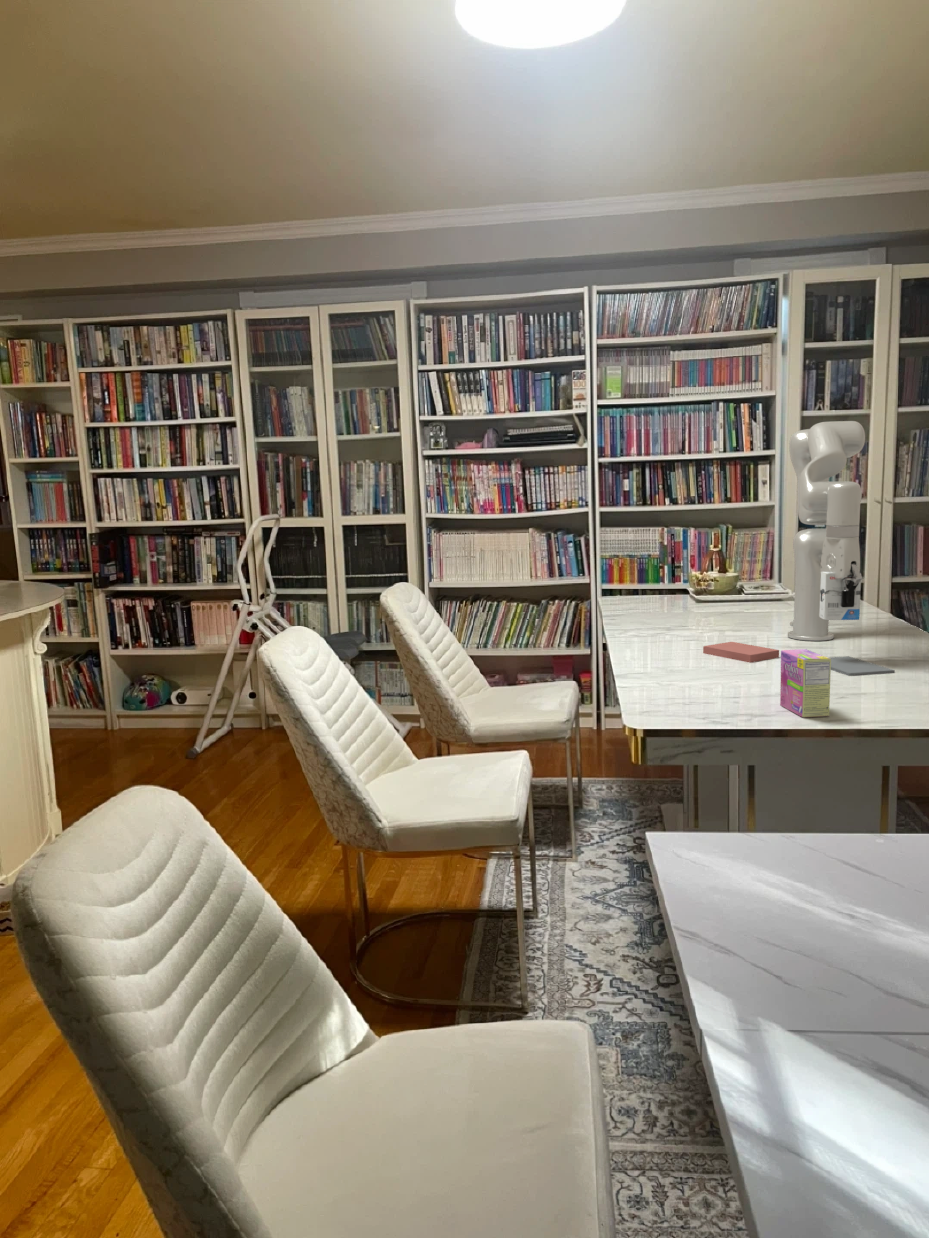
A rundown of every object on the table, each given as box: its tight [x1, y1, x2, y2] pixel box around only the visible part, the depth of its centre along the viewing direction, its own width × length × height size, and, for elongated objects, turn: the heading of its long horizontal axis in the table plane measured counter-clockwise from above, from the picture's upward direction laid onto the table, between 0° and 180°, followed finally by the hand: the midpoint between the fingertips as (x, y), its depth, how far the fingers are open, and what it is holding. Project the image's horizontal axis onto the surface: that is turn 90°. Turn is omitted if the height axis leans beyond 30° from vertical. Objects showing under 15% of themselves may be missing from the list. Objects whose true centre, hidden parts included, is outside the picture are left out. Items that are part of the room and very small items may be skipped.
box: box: [779, 648, 832, 718], centre depth 181 cm, size 10×6×12 cm, turn 5°
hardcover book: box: [702, 641, 780, 663], centre depth 240 cm, size 16×11×2 cm
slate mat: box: [828, 655, 896, 677], centre depth 223 cm, size 18×12×1 cm, turn 11°
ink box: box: [819, 572, 862, 621], centre depth 225 cm, size 8×5×12 cm, turn 84°
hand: (839, 604), depth 225 cm, fingers closed on ink box, 6 cm apart
